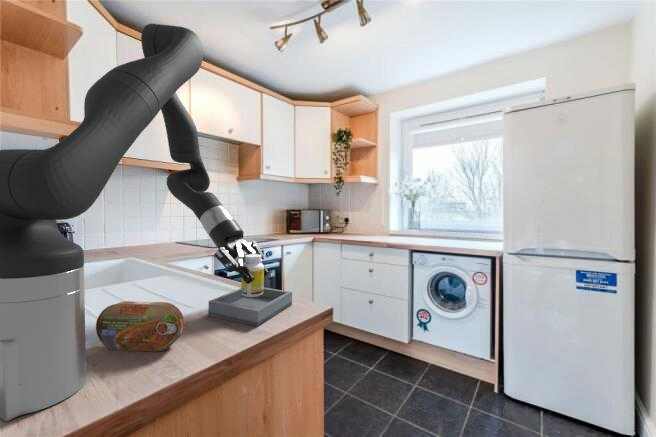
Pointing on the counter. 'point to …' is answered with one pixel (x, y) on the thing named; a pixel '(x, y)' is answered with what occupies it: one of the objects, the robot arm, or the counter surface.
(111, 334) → the tin
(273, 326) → the counter surface
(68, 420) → the counter surface
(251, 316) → the tray
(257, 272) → the supplement bottle
